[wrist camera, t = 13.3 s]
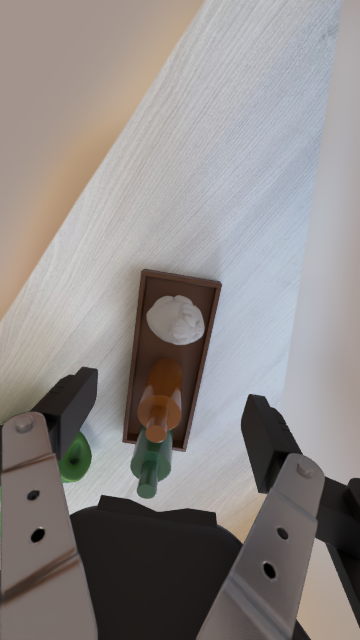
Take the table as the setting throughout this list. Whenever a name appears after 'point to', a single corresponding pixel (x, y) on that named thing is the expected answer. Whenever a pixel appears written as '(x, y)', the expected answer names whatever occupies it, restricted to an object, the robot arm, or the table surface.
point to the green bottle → (151, 462)
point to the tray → (169, 347)
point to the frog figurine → (176, 320)
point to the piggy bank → (71, 462)
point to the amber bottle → (161, 399)
